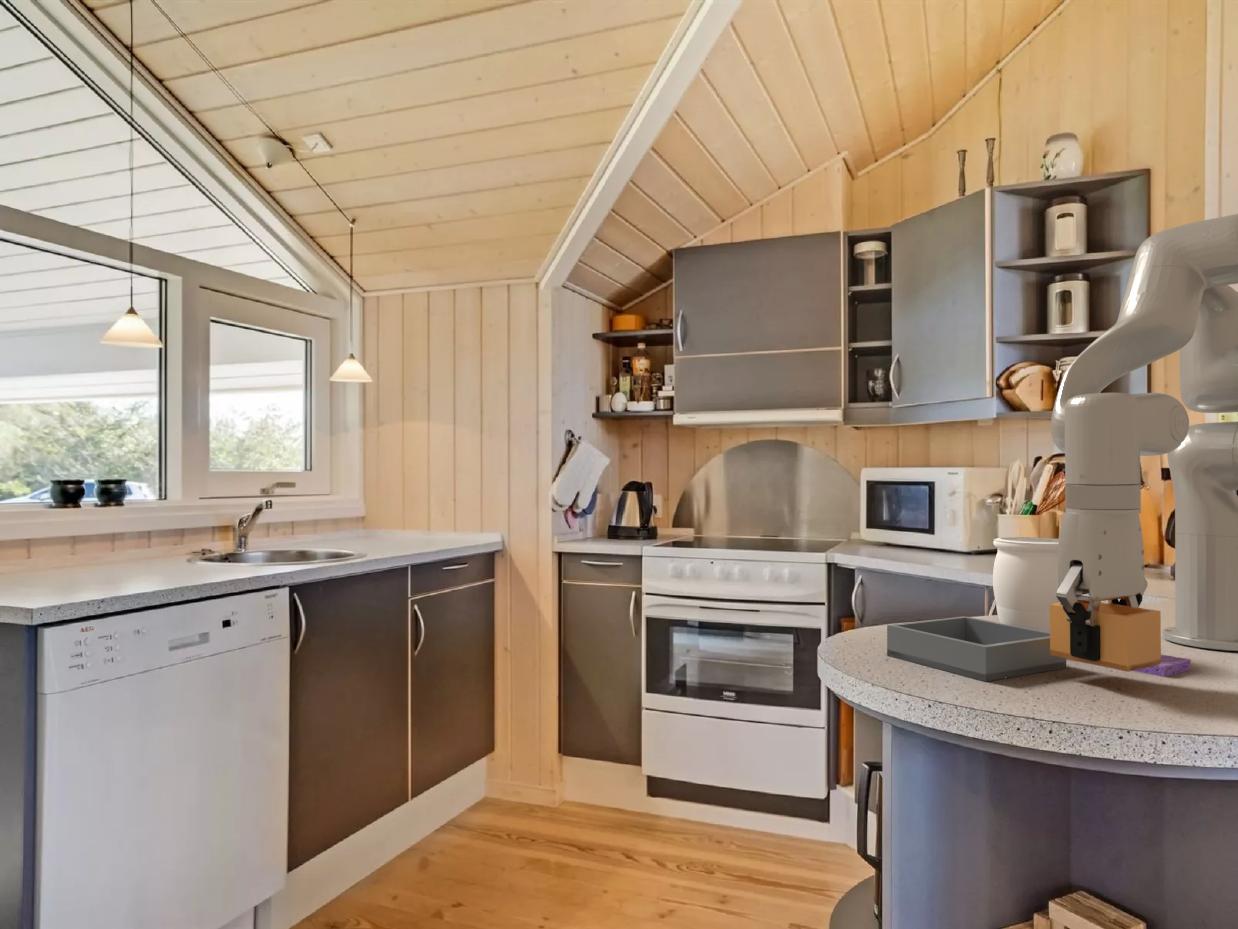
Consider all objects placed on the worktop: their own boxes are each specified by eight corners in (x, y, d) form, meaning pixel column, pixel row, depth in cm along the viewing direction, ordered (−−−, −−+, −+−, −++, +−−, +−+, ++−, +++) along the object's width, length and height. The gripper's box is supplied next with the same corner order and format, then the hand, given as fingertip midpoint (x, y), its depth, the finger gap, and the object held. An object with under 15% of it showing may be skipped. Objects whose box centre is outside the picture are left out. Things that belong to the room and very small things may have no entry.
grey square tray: (964, 644, 114) (964, 616, 114) (1066, 667, 100) (1066, 635, 100) (887, 655, 107) (887, 625, 107) (985, 681, 93) (985, 647, 93)
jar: (983, 647, 112) (983, 539, 112) (1003, 636, 120) (1004, 535, 120) (1069, 659, 105) (1069, 544, 105) (1085, 646, 113) (1085, 539, 113)
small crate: (1083, 648, 99) (1082, 599, 99) (1160, 664, 91) (1160, 611, 91) (1050, 654, 96) (1049, 604, 96) (1127, 671, 88) (1127, 616, 88)
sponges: (1164, 681, 96) (1164, 665, 96) (1060, 660, 107) (1060, 646, 107) (1192, 673, 100) (1192, 658, 100) (1088, 654, 111) (1088, 640, 111)
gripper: (1114, 496, 101) (1115, 639, 101) (1024, 501, 93) (1026, 657, 93) (1179, 498, 94) (1180, 651, 94) (1088, 504, 86) (1090, 672, 86)
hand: (1104, 653), depth 94 cm, fingers closed on small crate, 6 cm apart
